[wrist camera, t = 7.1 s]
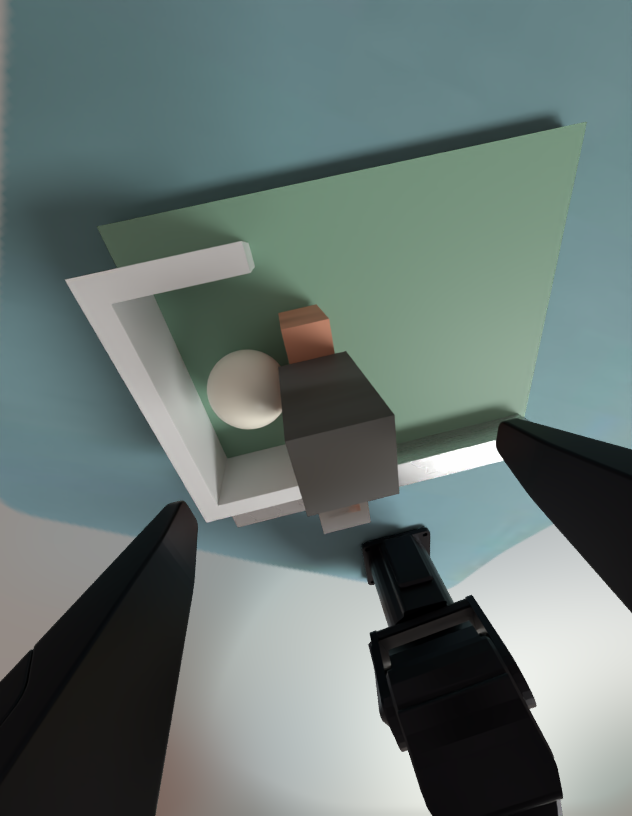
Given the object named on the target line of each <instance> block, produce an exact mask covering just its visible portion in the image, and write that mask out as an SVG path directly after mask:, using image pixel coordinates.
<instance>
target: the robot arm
mask: <svg viewBox="0 0 632 816" xmlns="http://www.w3.org/2000/svg"><path fill="white" fill-rule="evenodd" d="M496 449H497V451H498V453H499V454H500V456H501V457H502V459H503V460H504V461H505V463H506V464H507V466H508V467H509V468H510V470H511V471H512V473H513V474H514V475H515V477H516V478H517V479H518V481H519V482H520V484H521V485H522V486H523V488H524V489H525V491H526V492H527V493H528V494H529V496H530V497H531V498H532V499H533V501H534V502H535V503H536V504H537V505H538V507H539V508H540V509H541V510H542V511H543V512H544V513H545V515H546V516H547V517H548V518H549V519H550V520H551V521H552V523H553V524H554V525H555V526H556V527H557V528H558V529H559V531H560V532H561V533H562V534H563V535H564V536H565V537H566V538H567V540H568V541H569V542H570V543H571V544H572V545H573V546H574V548H575V549H577V551H578V552H579V553H580V554H581V556H582V557H583V558H584V559H585V560H586V561H587V562H588V564H589V565H590V566H591V567H592V568H593V569H594V570H595V572H596V573H597V574H598V575H599V576H600V577H601V578H602V580H603V581H604V582H605V583H606V584H607V585H608V586H609V587H610V589H611V590H612V591H613V592H614V593H615V594H616V595H617V597H618V598H619V599H620V600H621V601H622V602H623V603H624V604H625V606H626V607H627V608H628V609H629V610H630V611H631V613H632V449H628V448H624V447H621V446H617V445H613V444H610V443H606V442H603V441H599V440H595V439H592V438H588V437H584V436H581V435H577V434H573V433H570V432H566V431H563V430H559V429H555V428H552V427H548V426H544V425H541V424H537V423H533V422H530V421H526V420H522V419H519V418H512V419H508V420H504V421H501V422H500V424H499V426H498V432H497V438H496ZM197 534H198V524H197V520H196V518H195V516H194V515H193V513H192V512H191V510H190V508H189V507H188V505H187V503H186V502H185V501H177V502H173V503H170V504H167V505H166V506H165V507H164V508H163V509H162V510H161V511H160V512H159V514H158V515H157V516H156V517H155V518H154V519H153V520H152V521H151V522H150V523H149V524H148V525H147V526H146V527H145V528H144V530H143V531H142V532H141V533H140V534H139V535H138V536H137V537H136V538H135V539H134V540H133V541H132V542H131V544H129V545H128V547H127V548H126V549H125V550H124V551H123V552H122V553H121V554H120V555H119V556H118V557H117V558H116V559H115V560H114V561H113V563H112V564H111V565H110V566H109V567H108V568H107V569H106V570H105V571H104V572H103V573H102V574H101V575H100V577H98V579H97V580H96V581H95V582H94V583H93V584H92V585H91V586H90V587H89V588H88V589H87V590H86V591H85V592H84V593H83V594H82V596H81V597H80V598H79V599H78V600H77V601H76V602H75V603H74V604H73V605H72V606H71V607H70V608H69V610H67V612H66V613H65V614H64V615H63V616H62V617H61V618H60V619H59V620H58V621H57V622H56V623H55V624H54V625H53V626H52V627H51V629H50V630H49V631H48V632H47V633H46V634H45V635H44V636H43V637H42V638H41V639H40V640H39V641H38V642H37V644H36V645H35V646H34V649H33V650H30V651H29V652H28V653H27V654H26V655H25V656H24V657H23V658H22V659H21V660H20V661H19V663H18V664H17V665H16V666H15V667H14V668H13V669H12V670H11V671H10V672H9V673H8V674H7V675H6V676H5V677H4V678H3V679H2V680H1V681H0V816H155V815H156V809H157V803H158V796H159V791H160V785H161V779H162V773H163V767H164V761H165V755H166V749H167V744H168V737H169V731H170V725H171V720H172V714H173V708H174V702H175V696H176V690H177V684H178V678H179V672H180V666H181V660H182V654H183V649H184V642H185V636H186V631H187V625H188V619H189V613H190V607H191V601H192V595H193V588H194V579H195V565H196V550H197ZM361 548H362V554H363V560H364V565H365V571H366V576H367V581H368V584H369V585H374V584H375V586H376V589H377V592H378V595H379V598H380V601H381V605H382V608H383V611H384V614H385V617H386V620H387V623H388V626H389V627H388V628H385V629H383V630H380V631H373V632H370V637H371V642H370V643H369V649H370V653H371V657H372V661H373V665H374V670H375V678H376V687H377V696H378V705H379V712H380V716H381V718H382V721H383V722H385V723H386V724H387V725H388V726H389V727H390V729H391V731H392V733H393V735H394V737H395V739H396V742H397V744H398V746H399V748H400V750H401V751H402V752H404V751H407V750H408V752H409V755H410V758H411V762H412V765H413V768H414V771H415V774H416V777H417V780H418V783H419V787H420V790H421V793H422V795H423V798H424V800H425V803H426V806H427V808H428V810H429V811H430V813H431V814H432V816H563V815H562V807H561V801H560V799H562V798H563V793H562V788H561V783H560V778H559V773H558V768H557V765H556V762H555V760H554V756H553V754H552V751H551V749H550V747H549V745H548V743H547V742H546V740H545V738H544V736H543V734H542V732H541V730H540V728H539V727H538V725H537V723H536V721H535V719H534V717H533V715H532V713H531V711H530V710H529V709H530V708H534V707H536V702H535V699H534V697H533V695H532V692H531V690H530V689H529V686H528V684H527V682H526V680H525V678H524V677H523V675H522V673H521V671H520V669H519V667H518V666H517V664H516V662H515V661H514V659H513V657H512V655H511V654H510V652H509V651H508V649H507V647H506V646H505V644H504V643H503V641H502V640H501V638H500V637H499V635H498V634H497V632H496V631H495V629H494V628H493V626H492V625H491V623H490V622H489V620H488V619H487V617H486V615H485V614H484V612H483V611H482V609H481V608H480V606H479V605H478V603H477V602H476V600H475V599H474V597H473V596H472V595H470V596H467V597H466V599H463V600H460V601H458V602H455V603H454V602H453V600H452V598H451V597H450V594H449V593H448V591H447V589H446V587H445V585H444V583H443V581H442V579H441V577H440V575H439V574H438V572H437V570H436V568H435V566H434V564H433V562H432V560H431V558H430V531H429V530H428V528H420V529H416V530H412V531H408V532H404V533H401V534H397V535H393V536H389V537H385V538H381V539H377V540H373V541H370V542H366V543H364V544H362V546H361Z"/></svg>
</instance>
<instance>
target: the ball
mask: <svg viewBox="0 0 632 816" xmlns="http://www.w3.org/2000/svg"><path fill="white" fill-rule="evenodd" d="M278 367H280V365H279V364H278V362H277V361H276V360H274V359H273V358H272V357H270V356H269V355H267V354H265V353H263V352H260V351H256V350H249V349H248V350H239V351H234V352H232V353H229V354H227V355H226V356H224V357H223V358H222V359H220V360H219V361H218V362H217V363H216V365H215V366H214V367H213V369H212V371H211V372H210V375H209V378H208V382H207V396H208V400H209V403H210V405H211V407H212V409H213V411H214V412H215V413H216V415H217V416H218V417H219V418H220V419H221V420H223V421H224V422H225V423H227V424H229V425H231V426H233V427H236V428H240V429H256V428H260V427H263V426H266V425H268V424H270V423H271V422H272V421H274V420H275V419H276V418H277V417H278V416H279V415H280V414H281V412H282V405H281V394H280V382H279V371H278Z"/></svg>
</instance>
